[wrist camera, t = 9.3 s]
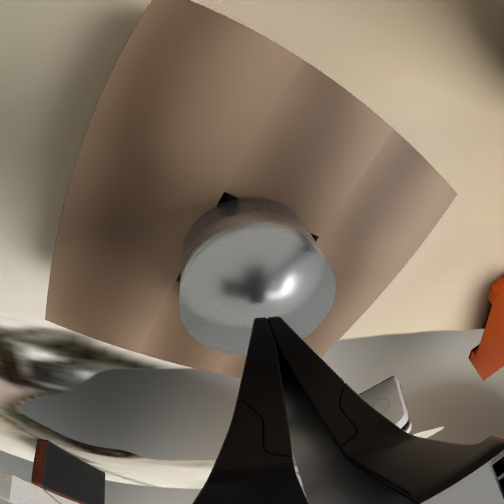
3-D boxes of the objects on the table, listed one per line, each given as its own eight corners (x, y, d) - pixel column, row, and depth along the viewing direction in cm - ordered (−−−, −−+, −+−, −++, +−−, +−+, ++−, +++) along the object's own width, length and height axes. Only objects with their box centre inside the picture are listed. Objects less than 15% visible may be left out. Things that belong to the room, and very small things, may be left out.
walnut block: (406, 161, 17) (457, 194, 13) (275, 334, 24) (289, 386, 20) (172, 14, 11) (159, -11, 7) (70, 265, 17) (45, 319, 13)
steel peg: (303, 191, 17) (364, 272, 11) (253, 266, 19) (280, 365, 13) (214, 144, 15) (226, 207, 8) (169, 232, 17) (157, 334, 11)
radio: (36, 438, 33) (27, 516, 20) (47, 439, 33) (39, 520, 20) (99, 474, 43) (99, 537, 31) (111, 475, 43) (111, 539, 31)
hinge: (294, 438, 38) (299, 493, 29) (278, 422, 37) (280, 481, 27) (401, 387, 35) (427, 439, 25) (391, 366, 34) (419, 421, 24)
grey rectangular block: (79, 502, 71) (79, 525, 62) (63, 500, 72) (63, 522, 63) (12, 474, 53) (9, 501, 44) (0, 471, 54) (-4, 496, 45)
